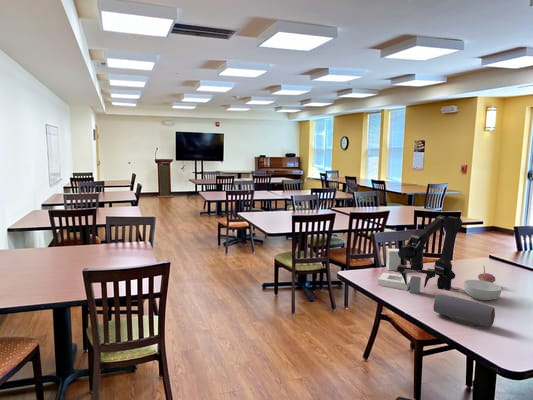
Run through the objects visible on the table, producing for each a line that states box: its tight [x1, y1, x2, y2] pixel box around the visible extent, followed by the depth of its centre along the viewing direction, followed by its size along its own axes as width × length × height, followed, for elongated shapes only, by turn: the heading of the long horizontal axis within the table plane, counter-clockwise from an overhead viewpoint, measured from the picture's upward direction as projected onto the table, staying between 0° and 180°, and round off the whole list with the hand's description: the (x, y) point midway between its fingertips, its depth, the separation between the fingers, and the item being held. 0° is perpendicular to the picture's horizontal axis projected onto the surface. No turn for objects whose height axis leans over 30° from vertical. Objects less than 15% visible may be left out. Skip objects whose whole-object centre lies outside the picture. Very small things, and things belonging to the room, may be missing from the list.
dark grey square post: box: [409, 275, 422, 295], centre depth 205 cm, size 4×4×8 cm
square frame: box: [377, 272, 412, 291], centre depth 219 cm, size 16×14×4 cm
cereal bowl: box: [463, 279, 503, 302], centre depth 198 cm, size 17×17×7 cm
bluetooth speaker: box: [432, 293, 496, 328], centre depth 169 cm, size 23×9×10 cm, turn 48°
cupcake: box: [477, 264, 496, 283], centre depth 217 cm, size 9×8×12 cm
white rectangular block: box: [385, 248, 402, 272], centre depth 247 cm, size 7×7×13 cm
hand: (415, 286), depth 206 cm, fingers open, 9 cm apart
